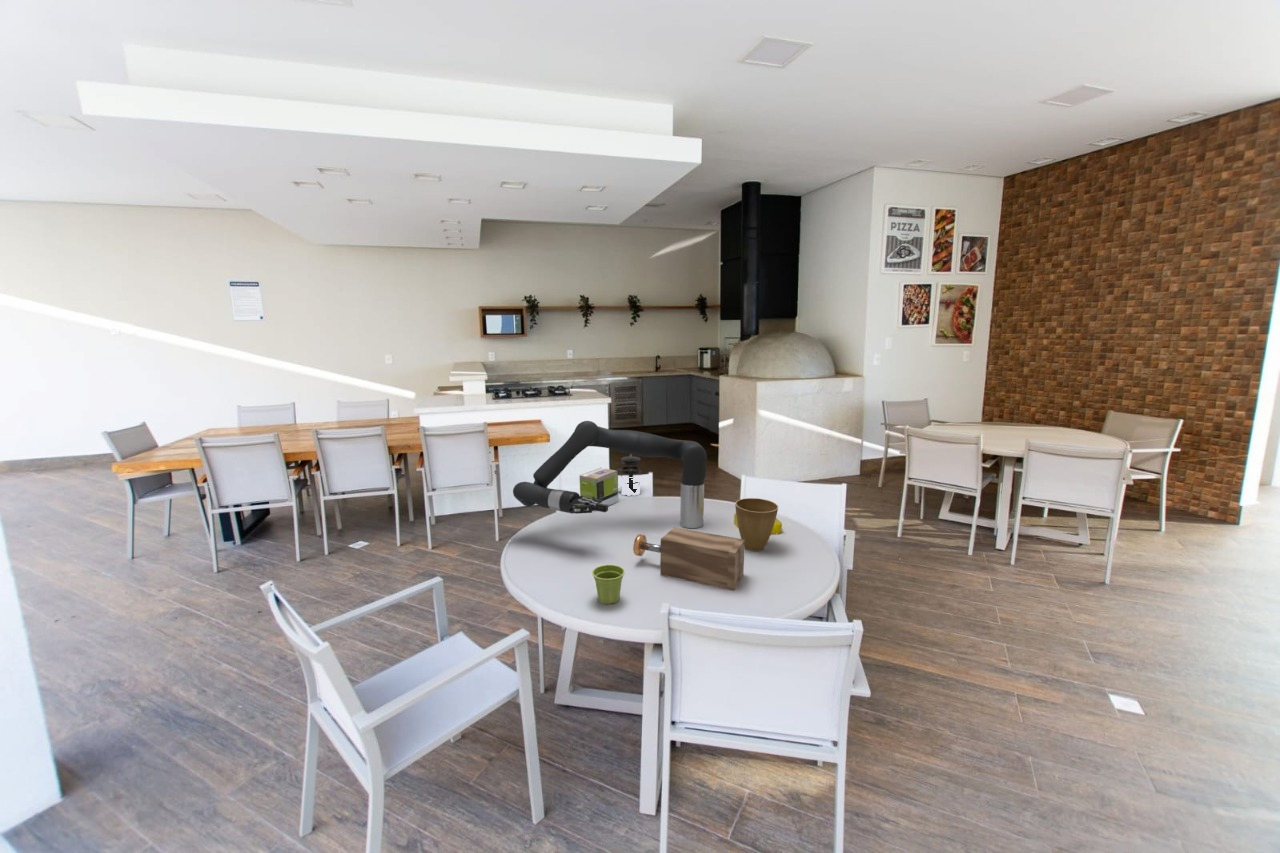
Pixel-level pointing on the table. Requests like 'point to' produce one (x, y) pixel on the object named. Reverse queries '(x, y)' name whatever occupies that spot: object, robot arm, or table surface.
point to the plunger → (644, 546)
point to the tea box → (600, 485)
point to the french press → (630, 469)
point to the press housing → (702, 558)
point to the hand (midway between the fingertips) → (607, 508)
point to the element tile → (776, 528)
